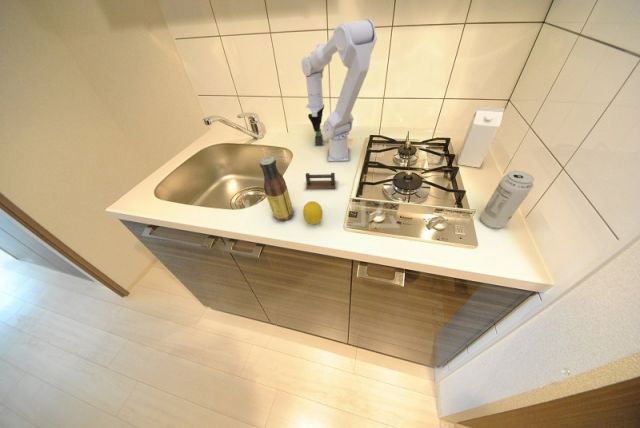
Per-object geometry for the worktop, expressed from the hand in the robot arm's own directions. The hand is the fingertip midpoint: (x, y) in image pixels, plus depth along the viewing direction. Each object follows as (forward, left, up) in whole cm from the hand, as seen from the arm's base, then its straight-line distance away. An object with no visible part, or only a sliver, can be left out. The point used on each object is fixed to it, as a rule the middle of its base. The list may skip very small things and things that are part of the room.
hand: (317, 127), depth 98 cm
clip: (0, 0, -8) cm, 8 cm away
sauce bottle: (+47, -7, -8) cm, 48 cm away
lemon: (+50, +3, -8) cm, 50 cm away
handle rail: (+32, +4, -8) cm, 33 cm away
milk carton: (+18, +57, -8) cm, 60 cm away
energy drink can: (+49, +52, -8) cm, 72 cm away
